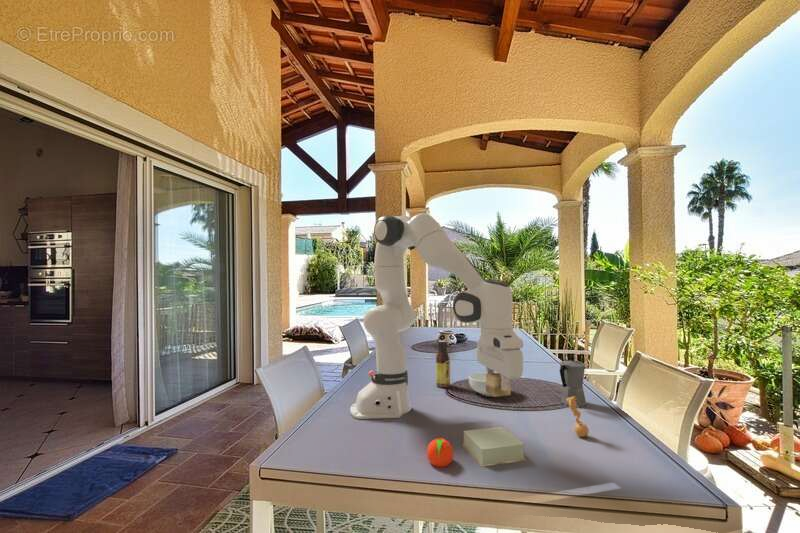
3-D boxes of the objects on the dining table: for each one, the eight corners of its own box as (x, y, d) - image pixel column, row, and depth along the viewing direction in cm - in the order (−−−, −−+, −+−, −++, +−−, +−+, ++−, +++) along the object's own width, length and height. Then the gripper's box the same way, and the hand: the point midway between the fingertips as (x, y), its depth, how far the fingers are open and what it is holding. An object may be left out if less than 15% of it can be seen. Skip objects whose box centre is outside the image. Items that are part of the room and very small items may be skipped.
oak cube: (494, 396, 106) (493, 378, 106) (485, 391, 111) (485, 373, 111) (510, 395, 107) (510, 377, 107) (501, 389, 112) (501, 372, 112)
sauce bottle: (449, 388, 168) (448, 342, 168) (435, 387, 169) (434, 342, 169) (450, 384, 174) (450, 340, 175) (436, 383, 176) (436, 339, 176)
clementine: (453, 476, 96) (452, 447, 96) (425, 474, 97) (424, 445, 97) (454, 460, 104) (453, 434, 104) (428, 459, 105) (427, 432, 105)
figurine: (587, 443, 113) (587, 402, 114) (565, 439, 116) (565, 399, 117) (589, 432, 121) (588, 394, 121) (568, 429, 124) (567, 391, 124)
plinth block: (482, 465, 99) (482, 449, 99) (463, 445, 111) (463, 430, 111) (524, 459, 102) (523, 444, 102) (501, 440, 114) (501, 426, 114)
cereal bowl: (515, 391, 163) (515, 374, 163) (503, 402, 149) (503, 384, 149) (477, 385, 172) (477, 369, 172) (462, 395, 158) (462, 378, 158)
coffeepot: (569, 396, 155) (568, 351, 156) (593, 402, 148) (592, 355, 148) (549, 405, 146) (548, 357, 146) (574, 412, 138) (573, 361, 139)
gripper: (471, 332, 119) (471, 377, 118) (505, 344, 99) (505, 398, 99) (490, 331, 120) (490, 375, 120) (527, 342, 100) (527, 396, 100)
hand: (497, 386), depth 109 cm, fingers closed on oak cube, 5 cm apart
